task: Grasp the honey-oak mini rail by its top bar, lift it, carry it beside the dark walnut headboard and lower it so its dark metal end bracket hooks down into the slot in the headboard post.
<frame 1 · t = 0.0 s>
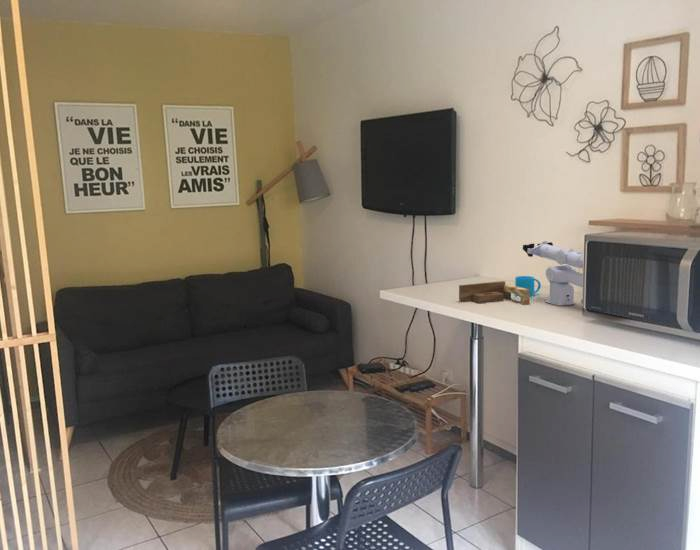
hand: (530, 246, 276), 22 cm above the table, tool horizontal, fingers open, 7 cm apart
headboard: (487, 300, 270), on the table
mug: (528, 295, 281), on the table
rail: (516, 301, 268), on the table
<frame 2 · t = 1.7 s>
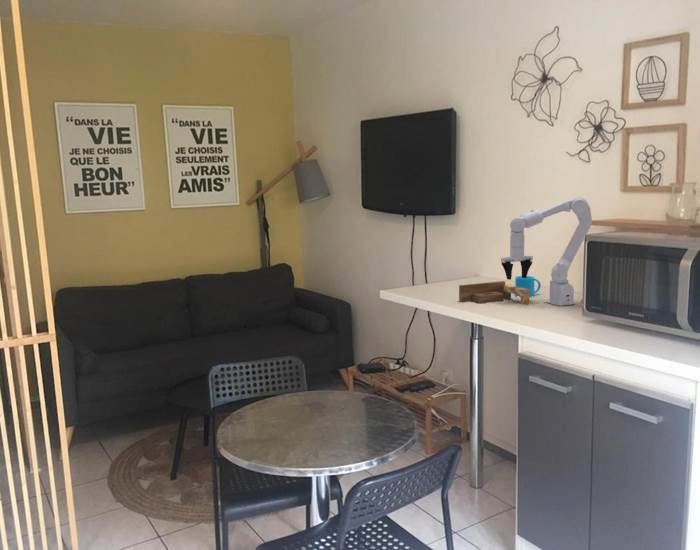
hand: (516, 278, 266), 10 cm above the table, tool pointing down, fingers open, 7 cm apart
nothing on the table moved.
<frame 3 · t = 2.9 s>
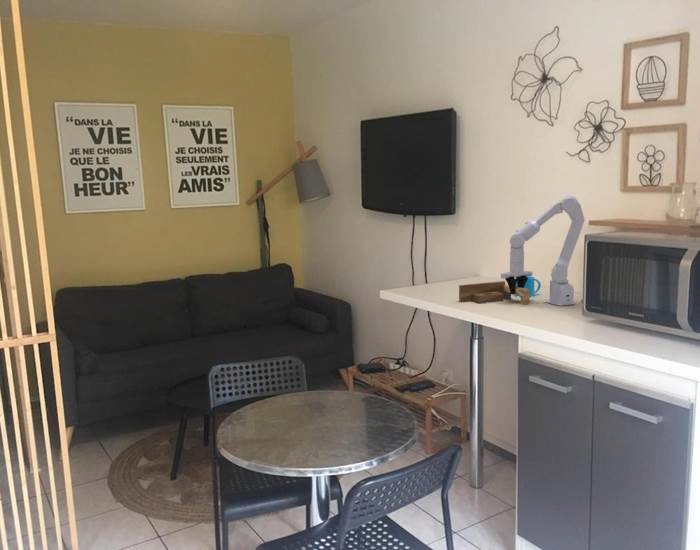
hand: (516, 294, 267), 3 cm above the table, tool pointing down, fingers closed on rail, 3 cm apart
rail: (516, 301, 268), on the table, touching gripper
everything else where it was.
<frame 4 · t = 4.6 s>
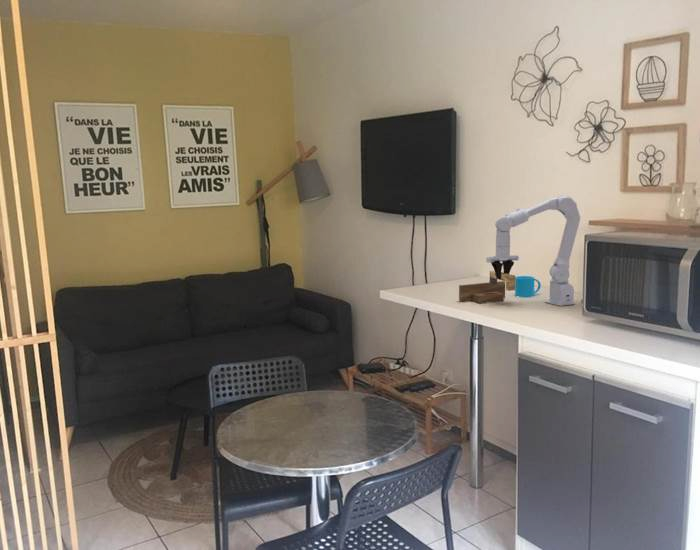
hand: (502, 278, 264), 10 cm above the table, tool pointing down, fingers closed on rail, 3 cm apart
rail: (501, 287, 264), point 7 cm above the table, touching gripper
everything else where it was.
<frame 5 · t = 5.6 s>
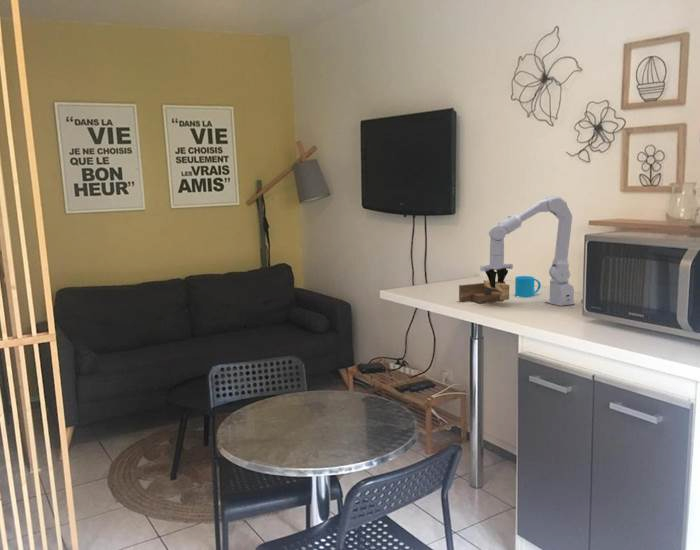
hand: (496, 287, 263), 7 cm above the table, tool pointing down, fingers closed on rail, 3 cm apart
rail: (496, 296, 264), point 3 cm above the table, touching gripper
everything else where it was.
when the fingers open (5 cm above the table, at t = 6.4 s): rail stays where it is, on the table.
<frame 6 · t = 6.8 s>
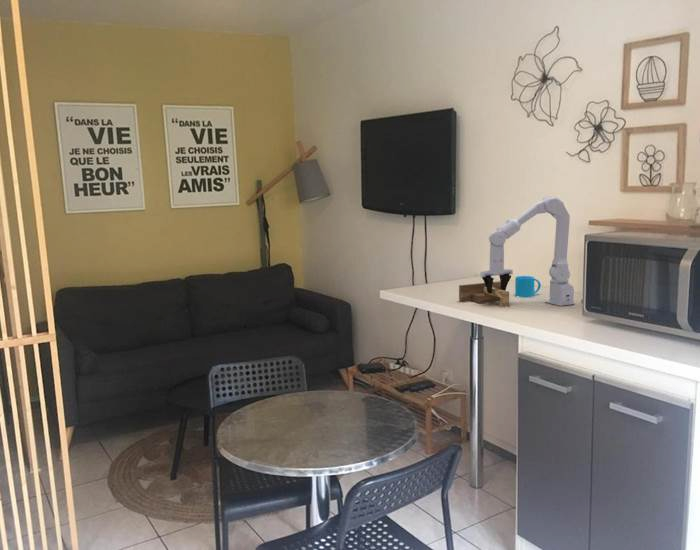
hand: (496, 292, 263), 5 cm above the table, tool pointing down, fingers open, 6 cm apart
rail: (496, 303, 264), on the table
everything else where it was.
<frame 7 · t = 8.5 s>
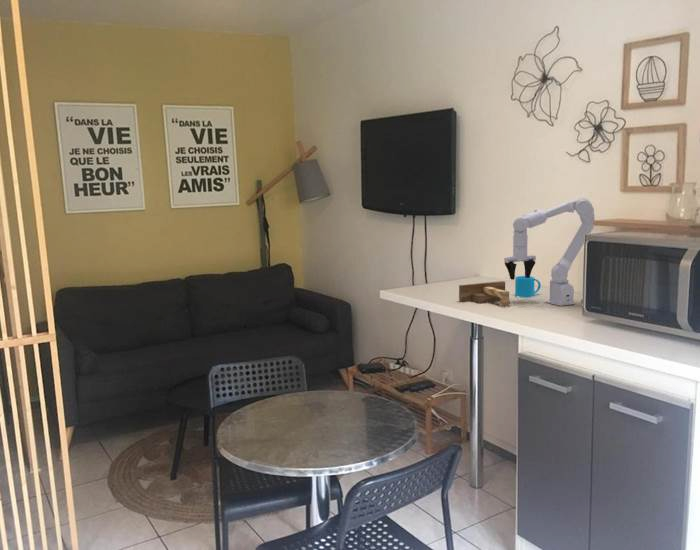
hand: (519, 278, 266), 10 cm above the table, tool pointing down, fingers open, 7 cm apart
nothing on the table moved.
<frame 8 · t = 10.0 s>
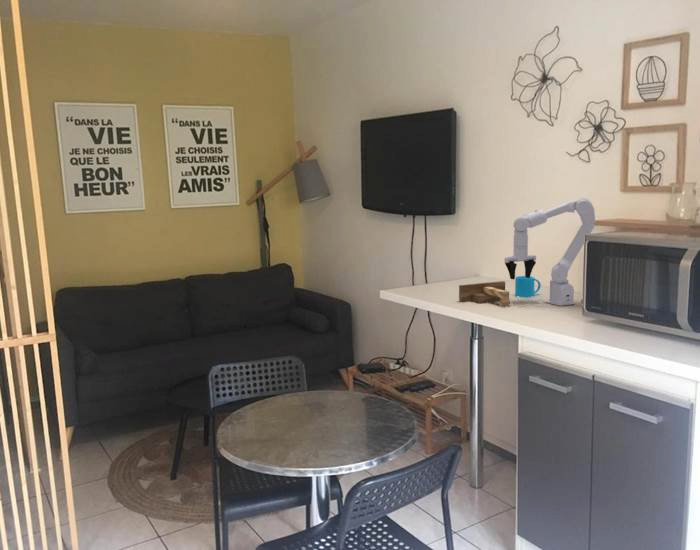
hand: (520, 278, 266), 10 cm above the table, tool pointing down, fingers open, 7 cm apart
nothing on the table moved.
at the end: rail 0.2 cm from the target spot on the table beside the headboard, on the table; rail tilted 0°; the gripper is holding nothing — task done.
